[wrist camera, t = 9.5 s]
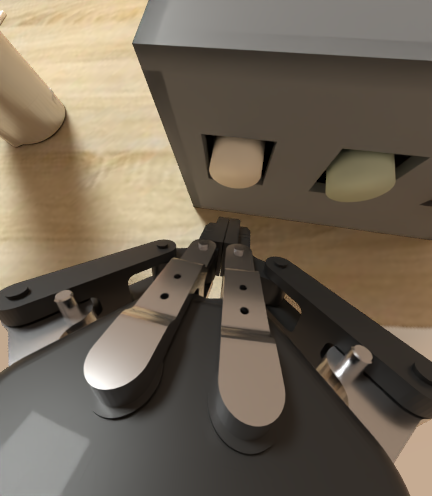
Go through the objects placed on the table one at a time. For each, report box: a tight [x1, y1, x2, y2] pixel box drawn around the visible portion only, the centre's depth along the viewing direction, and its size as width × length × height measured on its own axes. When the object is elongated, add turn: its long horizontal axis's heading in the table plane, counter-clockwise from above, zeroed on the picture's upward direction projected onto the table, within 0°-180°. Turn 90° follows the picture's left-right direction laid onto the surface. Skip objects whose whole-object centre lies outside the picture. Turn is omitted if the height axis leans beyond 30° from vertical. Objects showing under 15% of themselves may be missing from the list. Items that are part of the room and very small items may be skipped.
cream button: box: [209, 135, 266, 189], centre depth 15 cm, size 7×4×4 cm, turn 170°
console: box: [132, 0, 432, 240], centre depth 16 cm, size 10×28×16 cm, turn 80°
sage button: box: [326, 148, 396, 202], centre depth 14 cm, size 7×4×4 cm, turn 170°
